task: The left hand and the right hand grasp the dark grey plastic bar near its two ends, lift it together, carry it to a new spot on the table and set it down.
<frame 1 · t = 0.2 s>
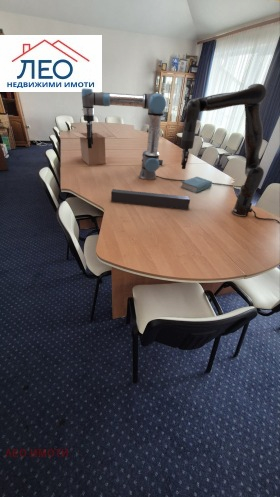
left hand: (90, 146, 173), 28 cm above the table, tool pointing down, fingers open, 13 cm apart
right hand: (183, 166, 141), 28 cm above the table, tool pointing down, fingers open, 8 cm apart
box: (93, 161, 237), on the table
bar: (149, 204, 159), on the table
laser sight: (151, 164, 240), on the table
book: (196, 187, 192), on the table
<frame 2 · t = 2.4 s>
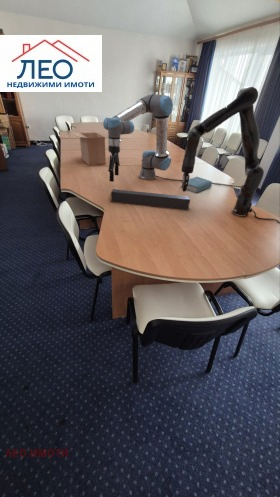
left hand: (114, 178, 155), 15 cm above the table, tool pointing down, fingers open, 13 cm apart
right hand: (183, 188, 150), 14 cm above the table, tool pointing down, fingers open, 8 cm apart
nothing on the table moved.
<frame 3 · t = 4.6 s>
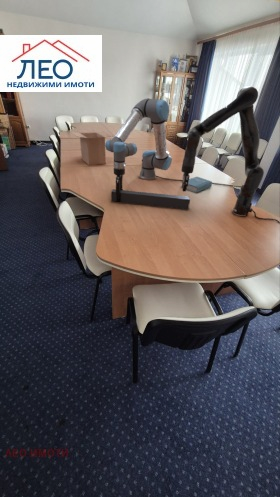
left hand: (119, 200, 160), 1 cm above the table, tool pointing down, fingers closed on bar, 5 cm apart
right hand: (183, 188, 150), 14 cm above the table, tool pointing down, fingers open, 8 cm apart
bar: (149, 204, 159), on the table, touching left hand
everything else where it was.
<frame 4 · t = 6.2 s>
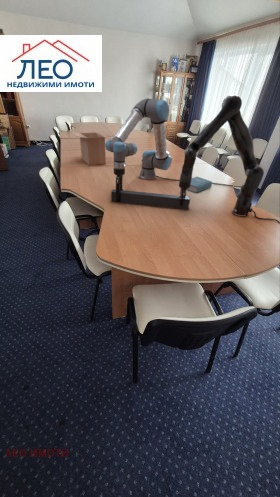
left hand: (119, 200, 160), 1 cm above the table, tool pointing down, fingers closed on bar, 5 cm apart
right hand: (181, 203, 156), 3 cm above the table, tool pointing down, fingers closed on bar, 5 cm apart
bar: (149, 204, 159), on the table, touching left hand, right hand
everything else where it was.
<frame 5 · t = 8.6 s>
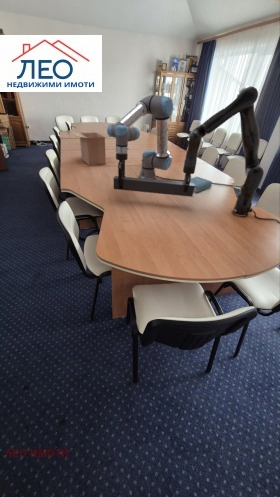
left hand: (121, 187, 156), 10 cm above the table, tool pointing down, fingers closed on bar, 5 cm apart
right hand: (185, 190, 152), 12 cm above the table, tool pointing down, fingers closed on bar, 5 cm apart
bar: (152, 191, 155), point 9 cm above the table, touching left hand, right hand
everything else where it was.
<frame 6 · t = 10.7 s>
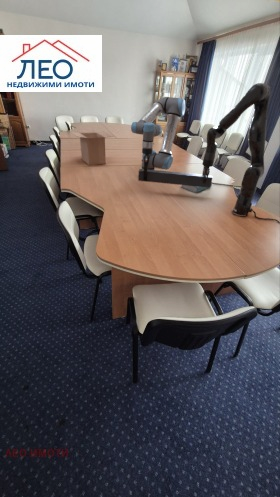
left hand: (145, 179, 172), 10 cm above the table, tool pointing down, fingers closed on bar, 5 cm apart
right hand: (203, 181, 168), 13 cm above the table, tool pointing down, fingers closed on bar, 5 cm apart
bar: (173, 183, 171), point 9 cm above the table, touching left hand, right hand
everything else where it was.
when the left hand's fingers open (2 cm above the table, at t = 12.4 s): bar drops 2 cm, on the table.
when the right hand's fingers open (5 cm above the table, at t = 12.6 s): bar stays where it is, on the table.
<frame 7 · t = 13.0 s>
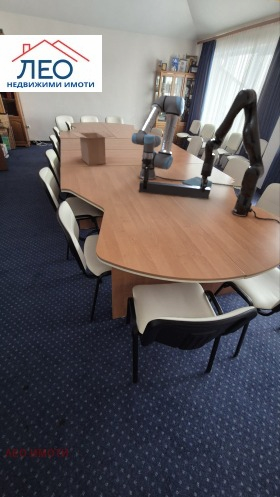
left hand: (145, 186, 176), 4 cm above the table, tool pointing down, fingers open, 13 cm apart
right hand: (202, 190, 173), 6 cm above the table, tool pointing down, fingers open, 8 cm apart
bar: (173, 194, 177), on the table
everything else where it was.
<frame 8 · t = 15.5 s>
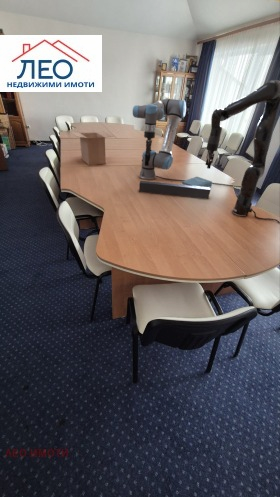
left hand: (147, 163, 165), 22 cm above the table, tool pointing down, fingers open, 13 cm apart
right hand: (207, 166, 162), 24 cm above the table, tool pointing down, fingers open, 8 cm apart
nothing on the table moved.
at the end: bar inside the target area (0.5 cm from its centre), on the table; bar tilted 0°; bar never tilted more than 2° during the clip; both hands held the bar at the same time; the left hand is holding nothing; the right hand is holding nothing; bar at rest at the end (0.0 cm/s) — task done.
